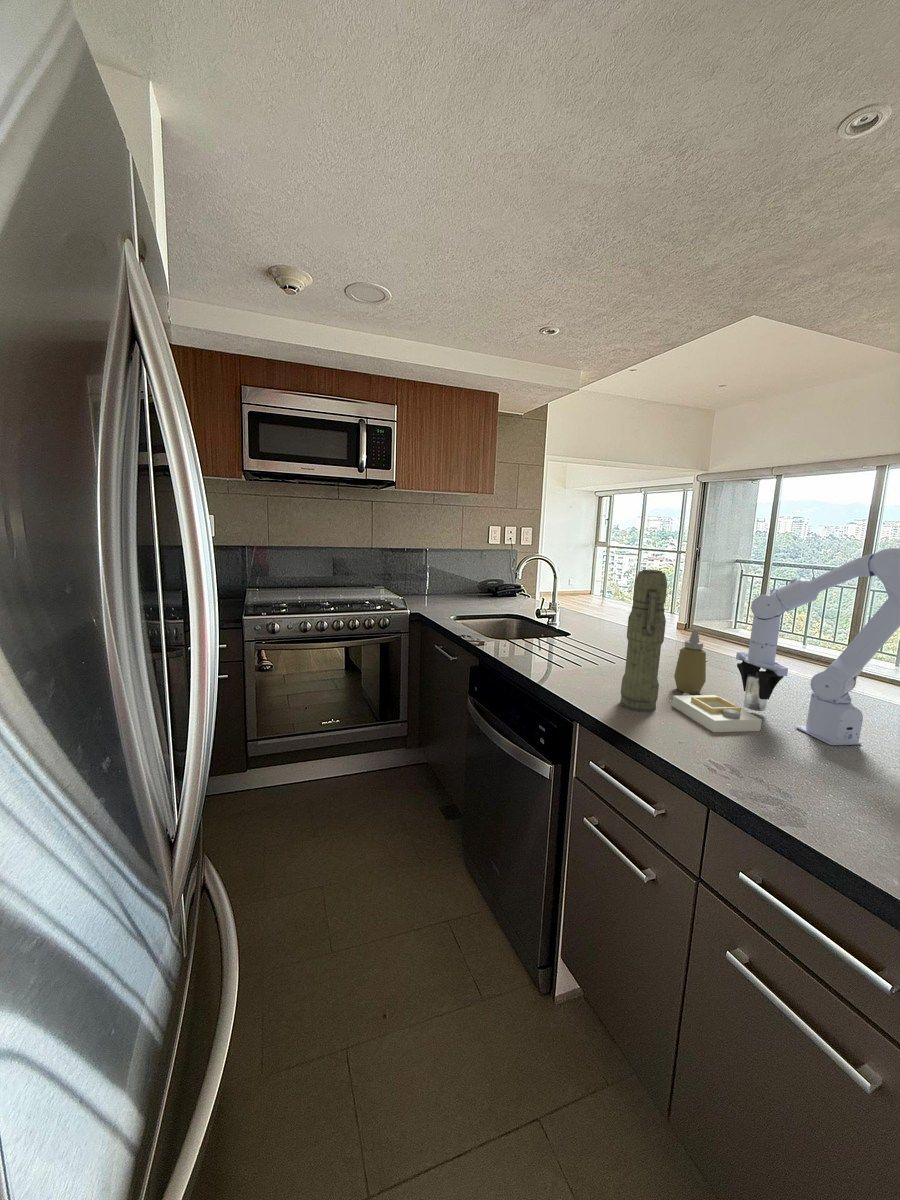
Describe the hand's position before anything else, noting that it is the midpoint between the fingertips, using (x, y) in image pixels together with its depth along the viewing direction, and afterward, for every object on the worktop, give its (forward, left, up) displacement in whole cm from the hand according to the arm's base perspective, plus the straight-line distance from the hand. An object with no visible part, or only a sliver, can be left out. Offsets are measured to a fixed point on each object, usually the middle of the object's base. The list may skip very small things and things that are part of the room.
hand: (756, 695), depth 124 cm
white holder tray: (0, +13, -5) cm, 13 cm away
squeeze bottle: (+17, +7, -5) cm, 19 cm away
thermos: (+7, +28, -5) cm, 29 cm away
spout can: (0, 0, -3) cm, 3 cm away
